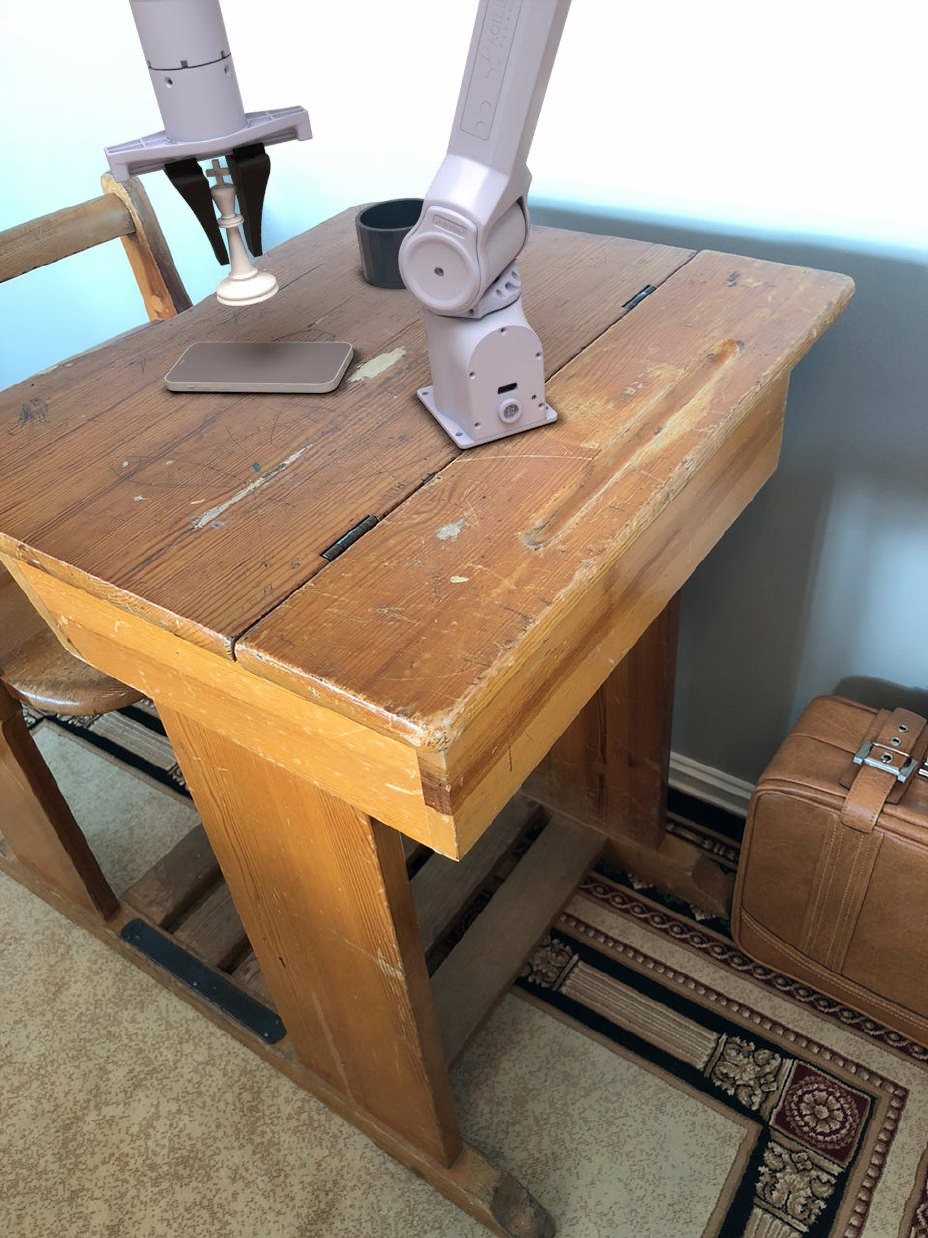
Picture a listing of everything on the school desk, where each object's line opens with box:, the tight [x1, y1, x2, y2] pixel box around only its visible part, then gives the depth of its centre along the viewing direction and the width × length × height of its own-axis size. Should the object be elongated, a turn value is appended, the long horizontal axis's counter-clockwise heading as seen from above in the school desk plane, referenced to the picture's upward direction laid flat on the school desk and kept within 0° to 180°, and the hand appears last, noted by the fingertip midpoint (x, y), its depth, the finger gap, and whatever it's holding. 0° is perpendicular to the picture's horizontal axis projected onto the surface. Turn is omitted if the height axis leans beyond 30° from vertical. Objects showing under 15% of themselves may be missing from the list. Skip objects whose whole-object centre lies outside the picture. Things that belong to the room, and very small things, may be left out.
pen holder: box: [354, 197, 425, 289], centre depth 94 cm, size 8×8×6 cm
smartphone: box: [164, 341, 355, 394], centre depth 82 cm, size 7×1×15 cm
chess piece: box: [205, 158, 280, 307], centre depth 74 cm, size 5×5×10 cm
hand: (239, 256), depth 75 cm, fingers closed on chess piece
